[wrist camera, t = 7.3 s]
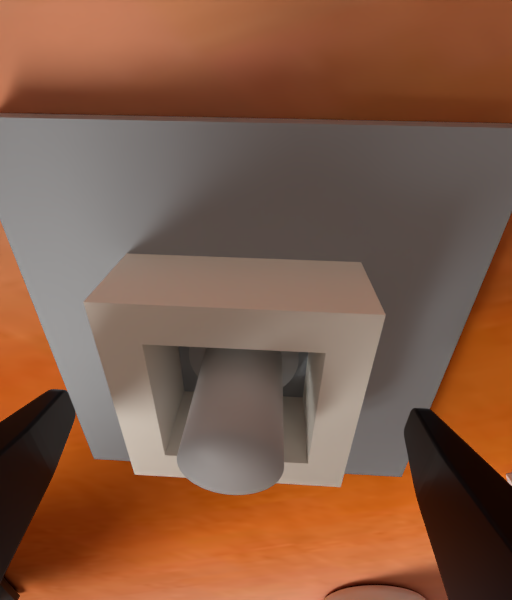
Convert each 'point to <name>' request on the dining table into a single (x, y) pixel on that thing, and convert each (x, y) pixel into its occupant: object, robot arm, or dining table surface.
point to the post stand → (258, 256)
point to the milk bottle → (374, 593)
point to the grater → (509, 478)
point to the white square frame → (237, 335)
